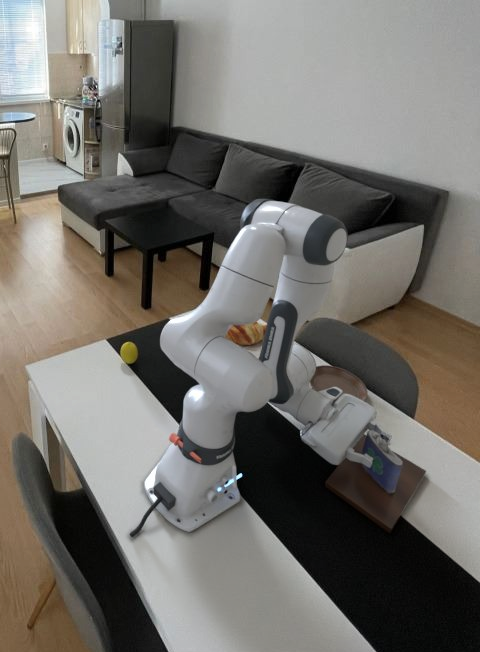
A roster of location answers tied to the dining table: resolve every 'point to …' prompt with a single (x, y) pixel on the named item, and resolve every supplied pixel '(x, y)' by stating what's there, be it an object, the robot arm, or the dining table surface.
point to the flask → (382, 462)
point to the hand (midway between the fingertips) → (381, 451)
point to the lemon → (129, 352)
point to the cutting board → (374, 489)
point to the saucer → (338, 381)
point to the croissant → (246, 333)
